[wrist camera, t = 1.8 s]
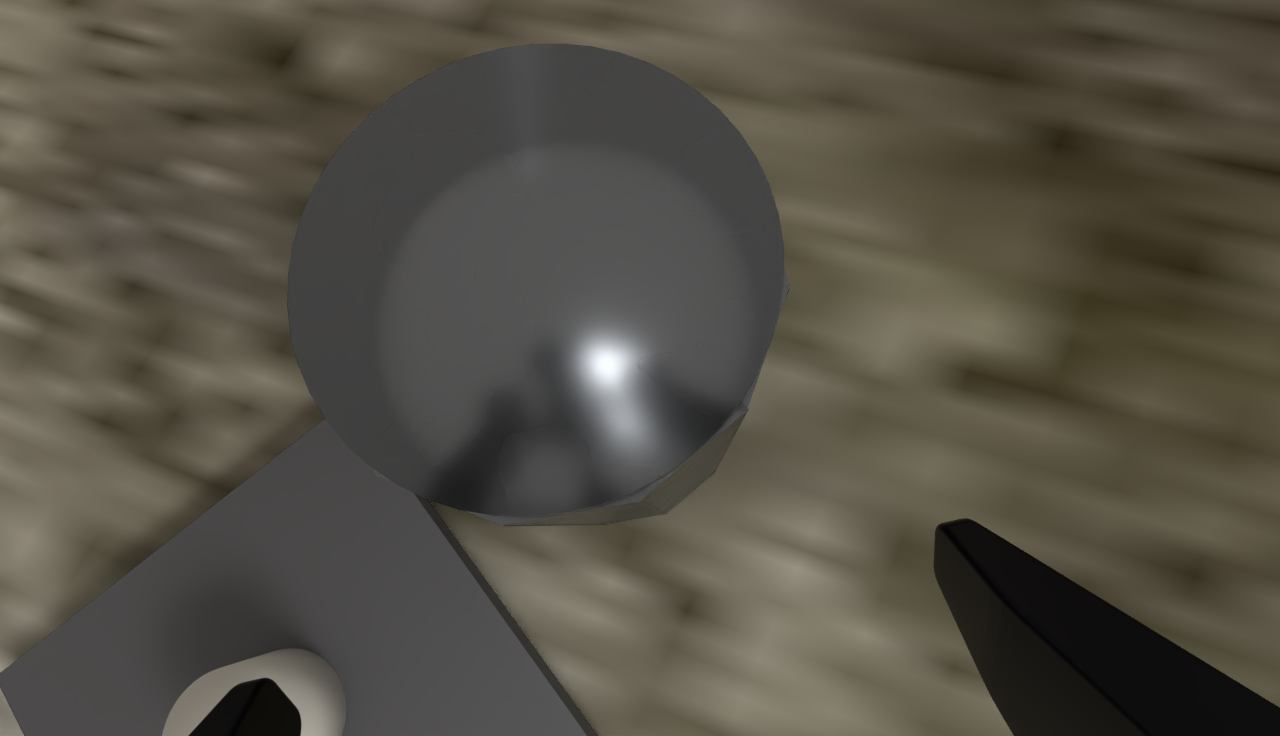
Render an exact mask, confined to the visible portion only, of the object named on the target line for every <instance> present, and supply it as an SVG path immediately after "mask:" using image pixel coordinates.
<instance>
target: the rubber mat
mask: <svg viewBox="0 0 1280 736" xmlns="http://www.w3.org/2000/svg"><path fill="white" fill-rule="evenodd" d="M260 678H270V679H272V680H273V681H274V682H275V683H276V684H277V685H278V686H279V687H280V688H281V690H282V691H283V692H284V693H285V694H286V695H287V697H288V698H289V699H290V700H291V701H292V703H293V704H294V705H295V706H296V707H297V709H298V710H299V713H300V716H301V725H302V726H301V736H597V735H596V733H595V732H594V730H593V729H592V728H591V726H590V725H589V723H588V722H587V721H586V719H585V718H584V717H583V715H582V714H581V712H580V711H579V710H578V708H577V707H576V705H575V704H574V703H573V701H572V700H571V698H570V697H569V696H568V694H567V693H566V691H565V690H564V689H563V687H562V686H561V685H560V683H559V682H558V680H557V679H556V678H555V676H554V675H553V673H552V672H551V671H550V669H549V668H548V666H547V665H546V664H545V662H544V661H543V659H542V658H541V657H540V655H539V654H538V652H537V651H536V650H535V648H534V647H533V646H532V644H531V643H530V641H529V640H528V639H527V637H526V636H525V634H524V633H523V632H522V630H521V629H520V627H519V626H518V625H517V623H516V622H515V620H514V619H513V618H512V616H511V615H510V614H509V612H508V611H507V609H506V608H505V607H504V605H503V604H502V602H501V601H500V600H499V598H498V597H497V595H496V594H495V593H494V591H493V590H492V588H491V587H490V586H489V584H488V583H487V581H486V580H485V579H484V577H483V576H482V575H481V573H480V572H479V570H478V569H477V568H476V566H475V565H474V563H473V562H472V561H471V559H470V558H469V556H468V555H467V554H466V552H465V551H464V549H463V548H462V547H461V545H460V544H459V543H458V541H457V540H456V538H455V537H454V536H453V534H452V533H451V531H450V530H449V529H448V527H447V526H446V524H445V523H444V522H443V520H442V519H441V517H440V516H439V515H438V513H437V512H436V511H435V509H434V508H433V506H432V505H431V504H430V502H429V501H428V500H427V499H425V498H423V497H421V496H419V495H417V494H415V493H413V492H411V491H409V490H407V489H405V488H403V487H401V486H398V485H397V484H395V483H393V482H391V481H388V480H386V479H381V478H378V476H376V474H375V472H374V471H373V469H372V468H371V467H370V466H369V465H368V464H367V463H366V462H364V461H363V460H362V459H361V458H360V457H359V456H358V455H357V454H356V453H355V452H354V451H352V450H351V449H350V448H349V447H348V446H347V445H346V444H345V443H344V441H343V440H342V439H341V438H340V437H339V435H338V434H337V433H336V432H335V430H334V429H333V428H332V427H331V426H330V424H329V423H328V422H327V421H326V419H323V420H322V421H321V422H320V423H318V424H317V425H316V426H314V427H313V428H312V429H311V430H309V431H308V432H307V433H306V434H304V435H303V436H302V437H300V438H299V439H298V440H297V441H295V442H294V443H293V444H292V445H290V446H289V447H288V448H286V449H285V450H284V451H283V452H281V453H280V454H279V455H278V456H276V457H275V458H274V459H272V460H271V461H270V462H269V463H267V464H266V465H265V466H264V467H262V468H261V469H260V470H258V471H257V472H256V473H255V474H253V475H252V476H251V477H249V478H248V479H247V480H246V481H244V482H243V483H242V484H241V485H239V486H238V487H237V488H235V489H234V490H233V491H232V492H230V493H229V494H228V495H227V496H225V497H224V498H223V499H221V500H220V501H219V502H218V503H216V504H215V505H214V506H213V507H211V508H210V509H209V510H207V511H206V512H205V513H204V514H202V515H201V516H200V517H198V518H197V519H196V520H195V521H193V522H192V523H191V524H190V525H188V526H187V527H186V528H184V529H183V530H182V531H181V532H179V533H178V534H177V535H176V536H174V537H173V538H172V539H170V540H169V541H168V542H167V543H165V544H164V545H163V546H162V547H160V548H159V549H158V550H156V551H155V552H154V553H153V554H151V555H150V556H149V557H147V558H146V559H145V560H144V561H142V562H141V563H140V564H139V565H137V566H136V567H135V568H133V569H132V570H131V571H130V572H128V573H127V574H126V575H125V576H123V577H122V578H121V579H119V580H118V581H117V582H116V583H114V584H113V585H112V586H111V587H109V588H108V589H107V590H105V591H104V592H103V593H102V594H100V595H99V596H98V597H96V598H95V599H94V600H93V601H91V602H90V603H89V604H88V605H86V606H85V607H84V608H82V609H81V610H80V611H79V612H77V613H76V614H75V615H74V616H72V617H71V618H70V619H68V620H67V621H66V622H65V623H63V624H62V625H61V626H60V627H58V628H57V629H56V630H54V631H53V632H52V633H51V634H49V635H48V636H47V637H45V638H44V639H43V640H42V641H40V642H39V643H38V644H37V645H35V646H34V647H33V648H31V649H30V650H29V651H28V652H26V653H25V654H24V655H23V656H21V657H20V658H19V659H17V660H16V661H15V662H14V663H12V664H11V665H10V666H9V667H7V668H6V669H5V670H3V671H2V672H1V673H0V688H1V690H2V692H3V694H4V696H5V698H6V700H7V702H8V704H9V706H10V708H11V710H12V712H13V714H14V716H15V718H16V720H17V722H18V724H19V726H20V728H21V730H22V732H23V734H24V736H188V735H189V734H190V733H191V732H192V731H193V730H194V729H195V728H196V727H197V726H198V724H199V723H200V722H201V721H202V720H203V719H204V718H205V717H206V716H207V715H208V713H209V712H210V711H211V710H212V709H213V708H214V707H215V706H216V705H217V704H218V702H219V701H220V700H221V699H222V698H223V697H224V696H225V695H226V694H227V693H228V692H229V691H230V690H231V689H232V688H233V687H234V686H236V685H237V684H240V683H242V682H246V681H251V680H255V679H260Z"/></svg>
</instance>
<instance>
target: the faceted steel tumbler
mask: <svg viewBox="0 0 1280 736" xmlns="http://www.w3.org/2000/svg"><path fill="white" fill-rule="evenodd" d="M789 286H790V284H788V280H787V276H786V271H785V267H784V244H783V238H782V232H781V226H780V220H779V214H778V211H777V207H776V204H775V201H774V198H773V195H772V192H771V188H770V185H769V183H768V181H767V179H766V177H765V175H764V172H763V170H762V168H761V166H760V164H759V162H758V160H757V158H756V156H755V155H754V153H753V152H752V150H751V149H750V147H749V146H748V144H747V143H746V141H745V140H744V138H743V137H742V135H741V134H740V132H739V131H738V130H737V129H736V128H735V127H734V125H733V124H732V123H731V122H730V121H729V120H728V119H727V117H726V116H725V115H724V114H723V113H722V112H721V111H720V110H719V109H718V108H717V107H716V106H715V105H713V104H712V103H711V102H710V101H709V100H708V99H707V98H705V97H704V96H703V95H702V94H701V93H700V92H698V91H697V90H695V89H694V88H692V87H691V86H689V85H688V84H686V83H685V82H683V81H682V80H680V79H679V78H677V77H676V76H674V75H672V74H670V73H668V72H666V71H664V70H662V69H660V68H658V67H656V66H654V65H652V64H650V63H648V62H645V61H642V60H639V59H637V58H634V57H631V56H628V55H625V54H622V53H619V52H614V51H610V50H605V49H600V48H595V47H591V46H580V45H569V44H530V45H523V46H516V47H508V48H501V49H497V50H493V51H489V52H485V53H482V54H478V55H474V56H471V57H468V58H465V59H463V60H460V61H457V62H455V63H452V64H449V65H447V66H444V67H442V68H440V69H438V70H436V71H434V72H432V73H430V74H428V75H426V76H424V77H422V78H420V79H418V80H416V81H415V82H413V83H412V84H410V85H409V86H407V87H406V88H404V89H403V90H401V91H400V92H398V93H397V94H395V95H394V96H392V97H391V98H390V99H388V100H387V101H386V102H385V103H384V104H382V105H381V106H380V107H379V108H377V109H376V110H375V111H374V112H373V113H371V114H370V115H369V116H368V117H367V118H366V119H365V120H364V121H363V122H362V123H361V124H360V125H359V126H358V127H357V128H356V129H355V130H354V132H353V133H352V134H351V135H350V136H349V137H348V138H347V139H346V140H345V142H344V143H343V144H342V146H341V147H340V148H339V150H338V151H337V152H336V153H335V155H334V156H333V157H332V159H331V160H330V161H329V163H328V165H327V166H326V168H325V170H324V171H323V173H322V175H321V176H320V178H319V180H318V181H317V183H316V185H315V187H314V188H313V191H312V193H311V195H310V197H309V200H308V202H307V204H306V207H305V209H304V211H303V213H302V216H301V219H300V223H299V226H298V229H297V233H296V236H295V239H294V243H293V248H292V254H291V260H290V266H289V272H288V300H287V306H288V315H289V324H290V333H291V338H292V342H293V346H294V350H295V354H296V358H297V362H298V365H299V368H300V370H301V373H302V375H303V377H304V380H305V382H306V385H307V387H308V389H309V392H310V394H311V396H312V397H313V399H314V401H315V402H316V404H317V406H318V407H319V409H320V411H321V412H322V414H323V416H324V417H325V419H326V421H327V422H328V423H329V424H330V426H331V427H332V428H333V429H334V430H335V432H336V433H337V434H338V435H339V437H340V438H341V439H342V440H343V441H344V443H345V444H346V445H347V446H348V447H349V448H350V449H351V450H352V451H354V452H355V453H356V454H357V455H358V456H359V457H360V458H361V459H362V460H363V461H364V462H366V463H367V464H368V465H369V466H370V467H371V468H372V469H373V471H374V472H375V474H376V476H378V478H381V479H386V480H388V481H391V482H393V483H395V484H397V485H398V486H401V487H403V488H405V489H407V490H409V491H411V492H413V493H415V494H417V495H419V496H421V497H423V498H425V499H427V500H431V501H434V502H437V503H440V504H443V505H446V506H449V507H453V508H456V509H459V510H464V511H466V512H469V513H471V514H474V515H476V516H479V517H481V518H484V519H486V520H489V521H491V522H494V523H496V524H498V526H551V525H606V524H608V523H614V522H620V521H626V520H631V519H637V518H643V517H649V516H654V515H660V514H666V513H667V512H668V511H670V510H671V509H672V508H673V507H674V506H676V505H677V504H678V503H679V502H680V501H681V500H683V499H684V498H685V497H686V496H687V495H688V494H690V493H691V492H692V491H693V490H694V489H696V488H697V487H698V486H699V485H700V484H701V483H703V482H704V481H705V480H706V479H707V478H708V477H710V476H711V475H712V474H714V472H715V471H716V469H717V467H718V465H719V463H720V461H721V460H722V458H723V456H724V454H725V452H726V450H727V448H728V447H729V445H730V443H731V441H732V439H733V437H734V435H735V434H736V432H737V430H738V428H739V426H740V424H741V422H742V420H743V419H744V417H745V415H746V413H747V411H748V405H749V402H750V399H751V397H752V394H753V391H754V388H755V385H756V382H757V379H758V376H759V373H760V370H761V367H762V364H763V361H764V359H765V356H766V353H767V350H768V348H769V345H770V343H771V341H772V337H773V334H774V330H775V326H776V324H777V321H778V318H779V315H780V312H781V309H782V306H783V303H784V301H785V298H786V296H787V294H788V292H789V289H790V288H789Z"/></svg>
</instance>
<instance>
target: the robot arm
mask: <svg viewBox="0 0 1280 736" xmlns="http://www.w3.org/2000/svg"><path fill="white" fill-rule="evenodd" d="M934 573H935V577H936V580H937V582H938V585H939V587H940V589H941V591H942V593H943V596H944V598H945V600H946V602H947V604H948V606H949V608H950V611H951V613H952V615H953V617H954V619H955V621H956V623H957V626H958V628H959V630H960V632H961V634H962V636H963V639H964V641H965V643H966V645H967V647H968V649H969V651H970V654H971V656H972V658H973V660H974V662H975V664H976V666H977V669H978V671H979V673H980V675H981V677H982V679H983V681H984V683H985V685H986V687H987V689H988V691H989V693H990V695H991V697H992V699H993V701H994V703H995V704H996V706H997V708H998V710H999V711H1000V713H1001V715H1002V717H1003V718H1004V720H1005V722H1006V723H1007V725H1008V727H1009V728H1010V730H1011V732H1012V733H1013V735H1014V736H1280V708H1279V707H1278V706H1276V705H1274V704H1273V703H1271V702H1270V701H1268V700H1266V699H1265V698H1263V697H1261V696H1260V695H1258V694H1256V693H1255V692H1253V691H1252V690H1250V689H1248V688H1247V687H1245V686H1243V685H1242V684H1240V683H1239V682H1237V681H1235V680H1234V679H1232V678H1230V677H1229V676H1227V675H1225V674H1224V673H1222V672H1221V671H1219V670H1217V669H1216V668H1214V667H1212V666H1211V665H1209V664H1207V663H1206V662H1204V661H1203V660H1201V659H1199V658H1198V657H1196V656H1194V655H1193V654H1191V653H1189V652H1188V651H1186V650H1185V649H1183V648H1181V647H1180V646H1178V645H1176V644H1175V643H1173V642H1171V641H1170V640H1168V639H1167V638H1165V637H1163V636H1162V635H1160V634H1158V633H1157V632H1155V631H1153V630H1152V629H1150V628H1149V627H1147V626H1145V625H1144V624H1142V623H1140V622H1139V621H1137V620H1135V619H1134V618H1132V617H1131V616H1129V615H1127V614H1126V613H1124V612H1122V611H1121V610H1119V609H1118V608H1116V607H1114V606H1113V605H1111V604H1109V603H1108V602H1106V601H1104V600H1103V599H1101V598H1100V597H1098V596H1096V595H1095V594H1093V593H1091V592H1090V591H1088V590H1086V589H1085V588H1083V587H1082V586H1080V585H1078V584H1077V583H1075V582H1073V581H1072V580H1070V579H1068V578H1067V577H1065V576H1064V575H1062V574H1060V573H1059V572H1057V571H1055V570H1054V569H1052V568H1050V567H1049V566H1047V565H1046V564H1044V563H1042V562H1041V561H1039V560H1037V559H1036V558H1034V557H1032V556H1031V555H1029V554H1028V553H1026V552H1024V551H1023V550H1021V549H1019V548H1018V547H1016V546H1014V545H1013V544H1011V543H1010V542H1008V541H1006V540H1005V539H1003V538H1001V537H1000V536H998V535H997V534H995V533H993V532H992V531H990V530H988V529H987V528H985V527H983V526H982V525H980V524H979V523H977V522H975V521H973V520H971V519H966V518H965V519H958V520H954V521H949V522H945V523H941V524H939V525H938V526H937V528H936V530H935V543H934ZM301 726H302V725H301V716H300V713H299V710H298V709H297V707H296V706H295V705H294V704H293V703H292V701H291V700H290V699H289V698H288V697H287V695H286V694H285V693H284V692H283V691H282V690H281V688H280V687H279V686H278V685H277V684H276V683H275V682H274V681H273V680H272V679H270V678H260V679H255V680H251V681H246V682H242V683H240V684H237V685H236V686H234V687H233V688H232V689H231V690H230V691H229V692H228V693H227V694H226V695H225V696H224V697H223V698H222V699H221V700H220V701H219V702H218V704H217V705H216V706H215V707H214V708H213V709H212V710H211V711H210V712H209V713H208V715H207V716H206V717H205V718H204V719H203V720H202V721H201V722H200V723H199V724H198V726H197V727H196V728H195V729H194V730H193V731H192V732H191V733H190V734H189V735H188V736H301Z"/></svg>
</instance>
